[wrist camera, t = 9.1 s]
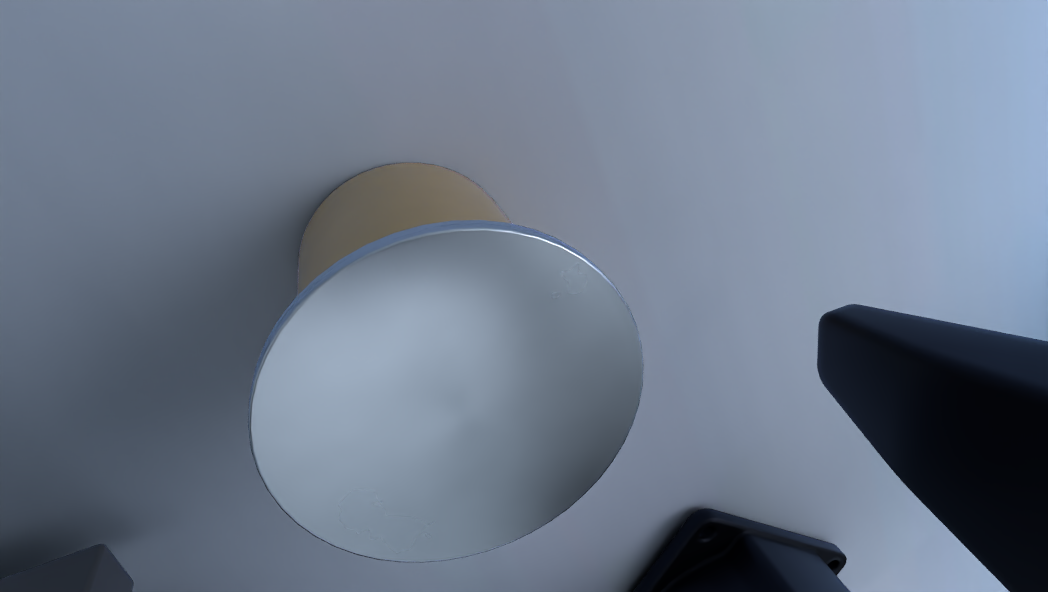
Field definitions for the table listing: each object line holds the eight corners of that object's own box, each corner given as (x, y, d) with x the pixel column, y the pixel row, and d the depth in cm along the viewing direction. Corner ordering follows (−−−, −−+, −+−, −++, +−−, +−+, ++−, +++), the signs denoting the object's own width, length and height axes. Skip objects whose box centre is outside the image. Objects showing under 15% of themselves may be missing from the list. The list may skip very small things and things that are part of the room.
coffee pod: (339, 78, 11) (362, 150, 6) (581, 205, 13) (712, 317, 9) (223, 331, 12) (181, 525, 8) (462, 406, 14) (527, 586, 10)
